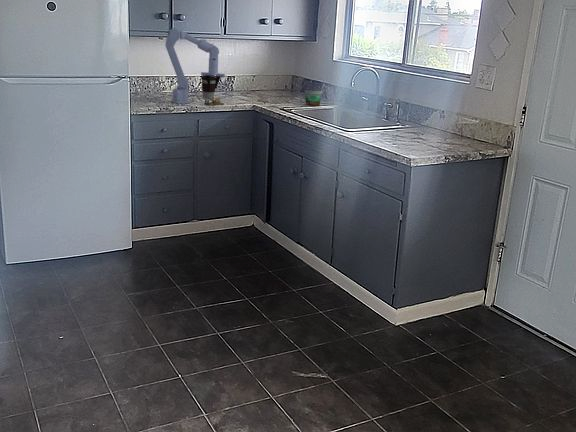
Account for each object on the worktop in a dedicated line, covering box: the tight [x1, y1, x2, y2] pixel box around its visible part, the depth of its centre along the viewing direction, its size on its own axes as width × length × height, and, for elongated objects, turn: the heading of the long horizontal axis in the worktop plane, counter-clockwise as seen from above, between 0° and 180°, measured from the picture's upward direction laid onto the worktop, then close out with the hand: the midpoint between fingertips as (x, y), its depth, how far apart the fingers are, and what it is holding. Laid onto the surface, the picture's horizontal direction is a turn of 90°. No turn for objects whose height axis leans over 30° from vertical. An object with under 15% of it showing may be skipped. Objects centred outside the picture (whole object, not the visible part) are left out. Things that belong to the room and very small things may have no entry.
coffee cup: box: [200, 75, 216, 100], centre depth 421 cm, size 10×10×15 cm
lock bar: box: [211, 97, 221, 102], centre depth 401 cm, size 6×2×2 cm, turn 131°
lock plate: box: [203, 98, 225, 107], centre depth 400 cm, size 11×6×4 cm, turn 131°
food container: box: [303, 89, 323, 107], centre depth 421 cm, size 12×6×10 cm, turn 105°
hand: (212, 88), depth 401 cm, fingers open, 3 cm apart
